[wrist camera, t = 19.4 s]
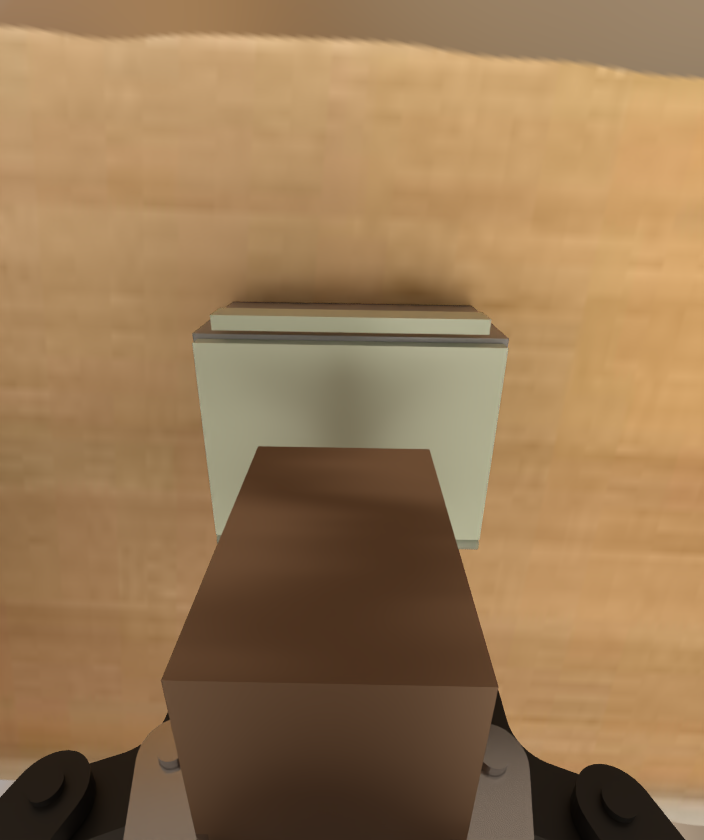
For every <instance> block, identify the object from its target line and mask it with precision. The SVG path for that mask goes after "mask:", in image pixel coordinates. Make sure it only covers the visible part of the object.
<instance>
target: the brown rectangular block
mask: <svg viewBox="0 0 704 840" xmlns="http://www.w3.org/2000/svg"><path fill="white" fill-rule="evenodd" d="M161 682H162V687H163V691H164V696H165V700H166V705H167V709H168V714H169V718H170V723H171V727H172V732H173V736H174V740H175V745H176V749H177V754H178V758H179V763H180V767H181V772H182V776H183V781H184V785H185V790H186V794H187V799H188V803H189V808H190V812H191V816H192V821H193V825H194V830H195V834H208V836H209V840H467V836H468V832H469V827H470V822H471V817H472V812H473V807H474V803H475V798H476V793H477V788H478V783H479V779H480V774H481V769H482V764H483V759H484V755H485V750H486V745H487V740H488V735H489V730H490V726H491V721H492V716H493V711H494V706H495V702H496V697H497V692H498V684H497V681H496V677H495V674H494V670H493V667H492V663H491V660H490V656H489V653H488V650H487V646H486V643H485V639H484V636H483V632H482V629H481V625H480V622H479V618H478V615H477V612H476V608H475V605H474V601H473V598H472V594H471V591H470V587H469V584H468V581H467V577H466V574H465V570H464V567H463V563H462V560H461V556H460V553H459V549H458V546H457V543H456V539H455V536H454V532H453V529H452V525H451V522H450V518H449V515H448V512H447V508H446V505H445V501H444V498H443V494H442V491H441V487H440V484H439V480H438V477H437V474H436V470H435V467H434V463H433V460H432V456H431V453H430V449H391V448H334V447H277V446H258V448H257V450H256V453H255V455H254V457H253V460H252V462H251V465H250V467H249V469H248V472H247V474H246V477H245V479H244V481H243V484H242V486H241V489H240V491H239V494H238V496H237V498H236V501H235V503H234V506H233V508H232V510H231V513H230V515H229V518H228V520H227V523H226V525H225V527H224V530H223V532H222V535H221V537H220V539H219V542H218V544H217V547H216V549H215V551H214V554H213V556H212V559H211V561H210V564H209V566H208V568H207V571H206V573H205V576H204V578H203V580H202V583H201V585H200V588H199V590H198V593H197V595H196V597H195V600H194V602H193V605H192V607H191V609H190V612H189V614H188V617H187V619H186V621H185V624H184V626H183V629H182V631H181V634H180V636H179V638H178V641H177V643H176V646H175V648H174V650H173V653H172V655H171V658H170V660H169V663H168V665H167V667H166V670H165V672H164V675H163V677H162V679H161Z"/></svg>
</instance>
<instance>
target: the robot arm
mask: <svg viewBox="0 0 704 840" xmlns="http://www.w3.org/2000/svg"><path fill="white" fill-rule="evenodd" d="M0 840H209V836H208V834H195V830H194V825H193V821H192V816H191V812H190V808H189V803H188V799H187V794H186V790H185V785H184V781H183V776H182V772H181V767H180V763H179V758H178V754H177V749H176V745H175V740H174V736H173V732H172V727H171V723H170V718H169V714H168V713H167V715H166V718H165V720H164V721H163V723H162V724H161V725H159V726H158V727H156V728H155V729H154V730H153V731H152V732H151V733H150V734H149V735H148V736H147V737H146V739H145V740H144V741H143V743H142V744H141V745H139V746H138V747H136V748H134V749H132V750H130V751H128V752H125V753H122V754H119V755H116V756H113V757H109V758H106V759H103V760H100V761H97V762H93V763H90V764H89V762H88V760H87V759H86V757H85V756H84V755H82V754H81V753H79V752H76V751H70V750H66V751H59V752H55V753H52V754H50V755H47V756H45V757H43V758H42V759H40V760H38V761H37V762H35V763H34V764H33V765H31V766H30V767H29V768H28V769H26V770H25V771H24V772H23V773H22V774H21V775H20V776H19V778H18V779H17V780H16V781H15V782H14V783H13V784H12V785H11V786H10V787H9V788H8V790H7V791H6V792H5V793H4V794H3V795H2V796H1V797H0ZM467 840H685V839H684V838H683V837H682V835H681V834H680V833H679V831H678V830H677V829H676V828H675V826H674V825H673V824H672V823H671V821H670V820H669V819H668V818H667V816H666V815H665V814H664V813H663V811H662V810H661V809H660V808H659V806H658V805H657V804H656V803H655V801H654V800H653V799H652V798H651V796H650V795H649V794H648V793H647V791H646V790H645V789H644V788H643V787H642V786H641V785H640V784H639V783H638V782H637V781H636V780H635V779H634V778H632V777H631V776H630V775H628V774H627V773H625V772H623V771H622V770H620V769H618V768H615V767H613V766H609V765H605V764H593V765H590V766H588V767H586V768H584V769H583V770H582V771H581V772H580V774H576V773H573V772H571V771H568V770H565V769H562V768H560V767H557V766H554V765H551V764H549V763H546V762H544V761H542V760H540V759H538V758H537V757H535V756H533V755H532V754H531V753H529V752H528V751H527V750H526V749H525V748H524V747H523V746H522V745H521V744H520V743H519V742H518V741H517V739H516V738H515V736H514V735H513V733H512V731H511V729H510V728H509V725H508V722H507V719H506V715H505V712H504V708H503V705H502V701H501V698H500V694H499V691H498V692H497V697H496V702H495V706H494V711H493V716H492V721H491V726H490V730H489V735H488V740H487V745H486V750H485V755H484V759H483V764H482V769H481V774H480V779H479V783H478V788H477V793H476V798H475V803H474V807H473V812H472V817H471V822H470V827H469V832H468V836H467Z"/></svg>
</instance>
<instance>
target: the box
mask: <svg viewBox="0 0 704 840" xmlns="http://www.w3.org/2000/svg"><path fill="white" fill-rule="evenodd" d="M226 308H265V309H324V310H384V311H444V312H478V311H477V310H476V309H475V308H474V307H472V306H456V305H396V304H336V303H276V302H232V303H231V304H230V305H228V306H227V307H226ZM192 334H193V342H194V341H195V340H196V339H256V340H315V341H374V342H433V343H492V344H504V345H505V346H507V347H508V342H509V338H507V337H506V336H505V335H504V334H503V333H502V332H501V331H500V330H498V329H497V328H496V327H495V326H494V325H493V324H492V323H491V326H490V334H489V335H465V334H406V333H347V332H288V331H229V330H212V329H211V319H210V320H209V321H208V322H206V323H205V324H204V325H203V326H201V327H200V328H199V329H197V330H196V331H195V332H194V333H192Z"/></svg>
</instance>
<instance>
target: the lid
mask: <svg viewBox="0 0 704 840" xmlns="http://www.w3.org/2000/svg"><path fill="white" fill-rule="evenodd" d="M210 319H211V329H212V330H229V331H288V332H347V333H406V334H465V335H489V334H490V326H491V319H490V318H489V317H487V316H486V315H485V314H484V313H483V312H444V311H384V310H324V309H265V308H219V309H218V310H216V311H215V312H214V313H212V314H211V315H210ZM192 345H193V353H194V361H195V369H196V377H197V385H198V393H199V401H200V409H201V417H202V425H203V433H204V441H205V450H206V458H207V466H208V474H209V482H210V490H211V498H212V506H213V514H214V522H215V530H216V535H217V544H218V542H219V539H220V537H221V535H222V532H223V530H224V527H225V525H226V523H227V520H228V518H229V515H230V513H231V510H232V508H233V506H234V503H235V501H236V498H237V496H238V494H239V491H240V489H241V486H242V484H243V481H244V479H245V477H246V474H247V472H248V469H249V467H250V465H251V462H252V460H253V457H254V455H255V453H256V450H257V448H258V446H277V447H334V448H391V449H430V453H431V456H432V460H433V463H434V467H435V470H436V474H437V477H438V480H439V484H440V487H441V491H442V494H443V498H444V501H445V505H446V508H447V512H448V515H449V518H450V522H451V525H452V529H453V532H454V536H455V539H456V543H457V546H458V549H478V545H479V542H478V540H479V539H480V532H481V526H482V519H483V513H484V506H485V499H486V493H487V486H488V480H489V473H490V466H491V460H492V453H493V447H494V440H495V434H496V427H497V420H498V414H499V407H500V401H501V394H502V387H503V381H504V374H505V368H506V361H507V355H508V347H507V346H505V345H504V344H492V343H433V342H374V341H315V340H256V339H196V340H195V341H194V342H193V343H192Z"/></svg>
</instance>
